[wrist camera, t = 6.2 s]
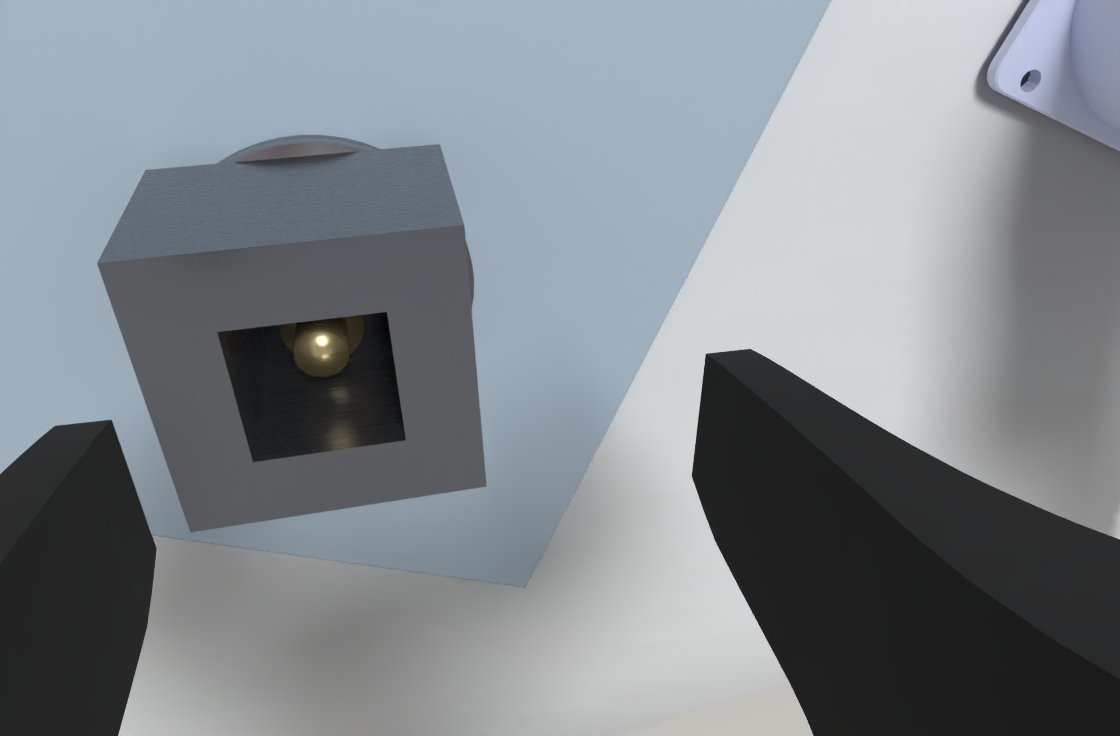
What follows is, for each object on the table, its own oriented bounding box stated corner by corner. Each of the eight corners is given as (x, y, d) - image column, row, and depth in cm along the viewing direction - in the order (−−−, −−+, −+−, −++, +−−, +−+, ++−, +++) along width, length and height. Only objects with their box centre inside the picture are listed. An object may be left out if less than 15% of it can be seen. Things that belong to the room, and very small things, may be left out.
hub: (512, 191, 19) (540, 252, 16) (418, 425, 21) (429, 509, 19) (197, 88, 16) (171, 141, 14) (138, 367, 19) (107, 454, 16)
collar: (439, 144, 17) (464, 225, 14) (462, 375, 20) (486, 486, 17) (145, 169, 16) (96, 262, 13) (215, 408, 19) (189, 532, 16)
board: (1073, -527, 15) (1116, -547, 14) (519, 563, 26) (524, 587, 25) (8, -1501, 9) (-28, -1636, 8) (-115, 466, 20) (-134, 495, 19)
